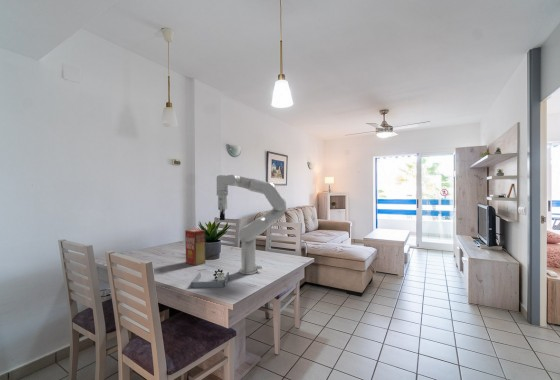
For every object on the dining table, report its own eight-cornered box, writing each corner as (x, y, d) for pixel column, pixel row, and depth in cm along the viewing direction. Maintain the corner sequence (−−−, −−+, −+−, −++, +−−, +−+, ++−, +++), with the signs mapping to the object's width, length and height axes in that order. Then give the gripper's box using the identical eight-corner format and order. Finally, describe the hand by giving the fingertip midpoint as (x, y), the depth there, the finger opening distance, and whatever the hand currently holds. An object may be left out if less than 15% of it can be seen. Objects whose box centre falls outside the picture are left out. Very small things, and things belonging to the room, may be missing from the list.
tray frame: (229, 276, 166) (229, 272, 166) (224, 287, 149) (224, 281, 149) (199, 277, 165) (199, 272, 165) (191, 287, 148) (191, 282, 148)
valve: (227, 285, 152) (224, 278, 163) (227, 274, 151) (224, 268, 163) (215, 287, 149) (213, 280, 160) (215, 275, 149) (213, 269, 160)
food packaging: (184, 262, 197) (184, 230, 197) (195, 260, 204) (195, 228, 204) (195, 266, 189) (195, 231, 189) (206, 263, 196) (205, 230, 196)
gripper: (225, 193, 170) (225, 221, 170) (229, 193, 185) (229, 218, 185) (214, 193, 169) (214, 221, 170) (218, 193, 184) (218, 218, 184)
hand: (222, 219), depth 177 cm, fingers closed
